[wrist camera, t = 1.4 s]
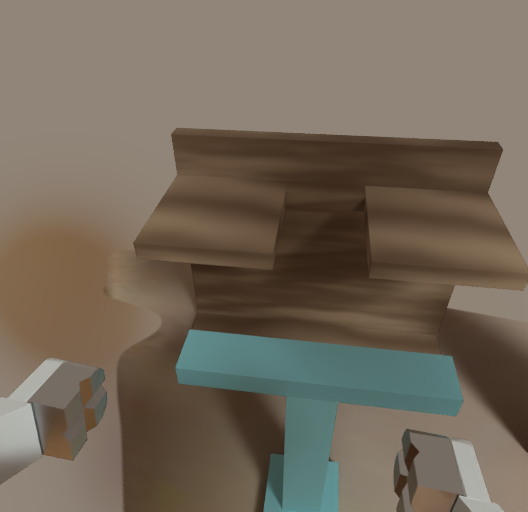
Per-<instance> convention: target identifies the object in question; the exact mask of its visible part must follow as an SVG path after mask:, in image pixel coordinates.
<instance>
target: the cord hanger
mask: <svg viewBox="0 0 528 512" xmlns="http://www.w3.org/2000/svg"><path fill="white" fill-rule="evenodd" d="M175 369H176V374H177V378H178V383H179V384H187V385H196V386H204V387H213V388H221V389H229V390H238V391H246V392H255V393H263V394H272V395H280V396H286V418H285V446H284V455H280V454H272V453H271V458H270V465H269V473H268V480H267V488H266V496H265V503H264V511H263V512H338V462H332V461H328V460H329V454H330V448H331V442H332V436H333V430H334V424H335V418H336V412H337V406H338V402H340V403H348V404H357V405H365V406H374V407H382V408H391V409H399V410H408V411H416V412H425V413H433V414H442V415H450V416H456V415H457V413H458V411H459V409H460V407H461V405H462V403H463V397H462V393H461V389H460V385H459V381H458V377H457V373H456V369H455V365H454V361H453V358H452V356H446V355H436V354H426V353H416V352H407V351H397V350H387V349H377V348H367V347H358V346H348V345H338V344H328V343H318V342H309V341H299V340H289V339H279V338H269V337H259V336H250V335H240V334H230V333H220V332H210V331H201V330H191V329H190V330H189V332H188V335H187V338H186V340H185V343H184V346H183V348H182V351H181V354H180V356H179V359H178V362H177V364H176V367H175Z"/></svg>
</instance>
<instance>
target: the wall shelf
mask: <svg viewBox="0 0 528 512" xmlns="http://www.w3.org/2000/svg"><path fill="white" fill-rule="evenodd" d="M171 135H172V142H173V149H174V156H175V162H176V168H177V176H176V178H175V179H174V181H173V182H172V184H171V186H170V187H169V189H168V190H167V192H166V193H165V195H164V196H163V198H162V199H161V201H160V203H159V204H158V206H157V207H156V209H155V210H154V212H153V213H152V215H151V216H150V218H149V220H148V221H147V223H146V224H145V226H144V227H143V229H142V231H141V232H140V234H139V235H138V237H137V238H136V240H135V241H134V243H133V244H134V248H135V252H136V256H137V259H147V260H159V261H171V262H183V263H191V268H192V274H193V281H194V287H195V294H196V301H197V307H198V314H197V317H196V320H195V323H194V325H193V328H192V330H201V331H210V332H220V333H230V334H240V335H250V336H259V337H269V338H279V339H289V340H299V341H309V342H318V343H328V344H338V345H348V346H358V347H367V348H377V349H387V350H397V351H407V352H416V353H426V354H436V355H441V351H440V347H439V342H438V338H437V334H438V331H439V328H440V325H441V322H442V320H443V317H444V314H445V311H446V308H447V306H448V303H449V300H450V297H451V294H452V292H453V289H454V286H455V285H460V286H472V287H485V288H497V289H508V290H520V291H523V290H524V289H525V287H526V285H527V282H528V267H527V265H526V263H525V261H524V259H523V257H522V255H521V254H520V252H519V250H518V248H517V246H516V244H515V242H514V241H513V239H512V237H511V235H510V233H509V231H508V229H507V228H506V226H505V224H504V222H503V220H502V218H501V216H500V215H499V213H498V211H497V209H496V207H495V205H494V204H493V202H492V200H491V198H490V196H489V194H488V191H489V188H490V185H491V182H492V179H493V177H494V174H495V171H496V168H497V165H498V162H499V160H500V157H501V154H502V151H503V149H502V147H501V146H500V145H499V143H498V142H484V141H460V140H439V139H417V138H415V139H414V138H393V137H371V136H349V135H348V136H347V135H326V134H303V133H281V132H257V131H234V130H213V129H190V128H189V129H188V128H176V129H175V130H174V131H173V133H172V134H171Z"/></svg>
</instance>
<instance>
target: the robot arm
mask: <svg viewBox="0 0 528 512" xmlns="http://www.w3.org/2000/svg"><path fill="white" fill-rule="evenodd" d="M104 380H105V376H104V370H103V369H101V368H98V367H93V366H89V365H84V364H80V363H76V362H71V361H65V360H61V359H56V358H52V357H51V358H49V359H46V360H45V361H44V362H43V363H42V364H41V365H40V366H39V367H38V368H37V369H36V370H35V371H34V372H33V373H32V374H31V375H30V376H29V377H28V378H27V379H26V380H25V381H24V382H23V383H22V384H21V385H20V386H19V387H18V388H17V389H16V390H15V391H14V392H13V393H12V394H11V395H10V396H9V397H8V398H4V397H1V398H0V484H2V483H3V482H5V481H6V480H8V479H9V478H11V477H12V476H14V475H15V474H17V473H18V472H20V471H21V470H23V469H24V468H26V467H27V466H29V465H30V464H32V463H33V462H35V461H36V460H38V459H39V458H41V457H42V455H48V456H53V457H58V458H63V459H68V460H74V458H75V457H76V455H77V454H78V452H79V451H80V450H81V448H82V447H83V445H84V444H85V442H86V441H87V433H86V432H87V431H89V430H91V429H92V428H94V427H96V426H97V424H98V423H99V421H100V420H101V418H102V416H103V413H104V411H105V408H106V404H107V392H106V390H105V389H104V388H103V387H102V385H101V384H102V383H103V382H104ZM402 446H403V449H401V450H400V451H398V452H397V456H396V460H395V465H394V491H395V493H396V494H397V495H398V497H399V498H400V499H399V502H398V505H397V508H396V511H397V512H505V511H504V510H503V509H502V508H501V507H500V506H499V505H498V504H496V503H492V502H491V501H490V498H489V495H488V492H487V489H486V486H485V483H484V480H483V476H482V473H481V470H480V467H479V464H478V461H477V458H476V455H475V451H474V448H473V445H472V444H471V442H470V441H468V440H463V439H458V438H452V437H446V436H442V435H437V434H431V433H426V432H421V431H415V430H410V429H406V430H405V432H404V434H403V437H402Z"/></svg>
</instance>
